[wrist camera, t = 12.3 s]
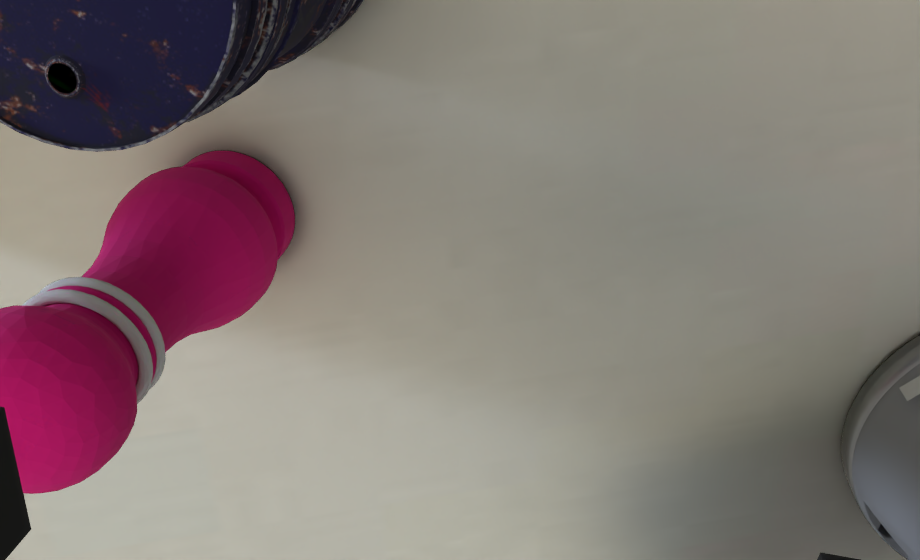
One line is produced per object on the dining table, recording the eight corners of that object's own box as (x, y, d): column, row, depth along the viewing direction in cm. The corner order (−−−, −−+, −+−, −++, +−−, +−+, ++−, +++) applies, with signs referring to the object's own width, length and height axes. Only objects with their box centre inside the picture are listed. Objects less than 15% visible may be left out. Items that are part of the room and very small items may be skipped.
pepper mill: (302, 146, 36) (39, 396, 19) (308, 282, 40) (89, 602, 22) (156, 132, 37) (-230, 360, 20) (174, 267, 40) (-141, 565, 23)
